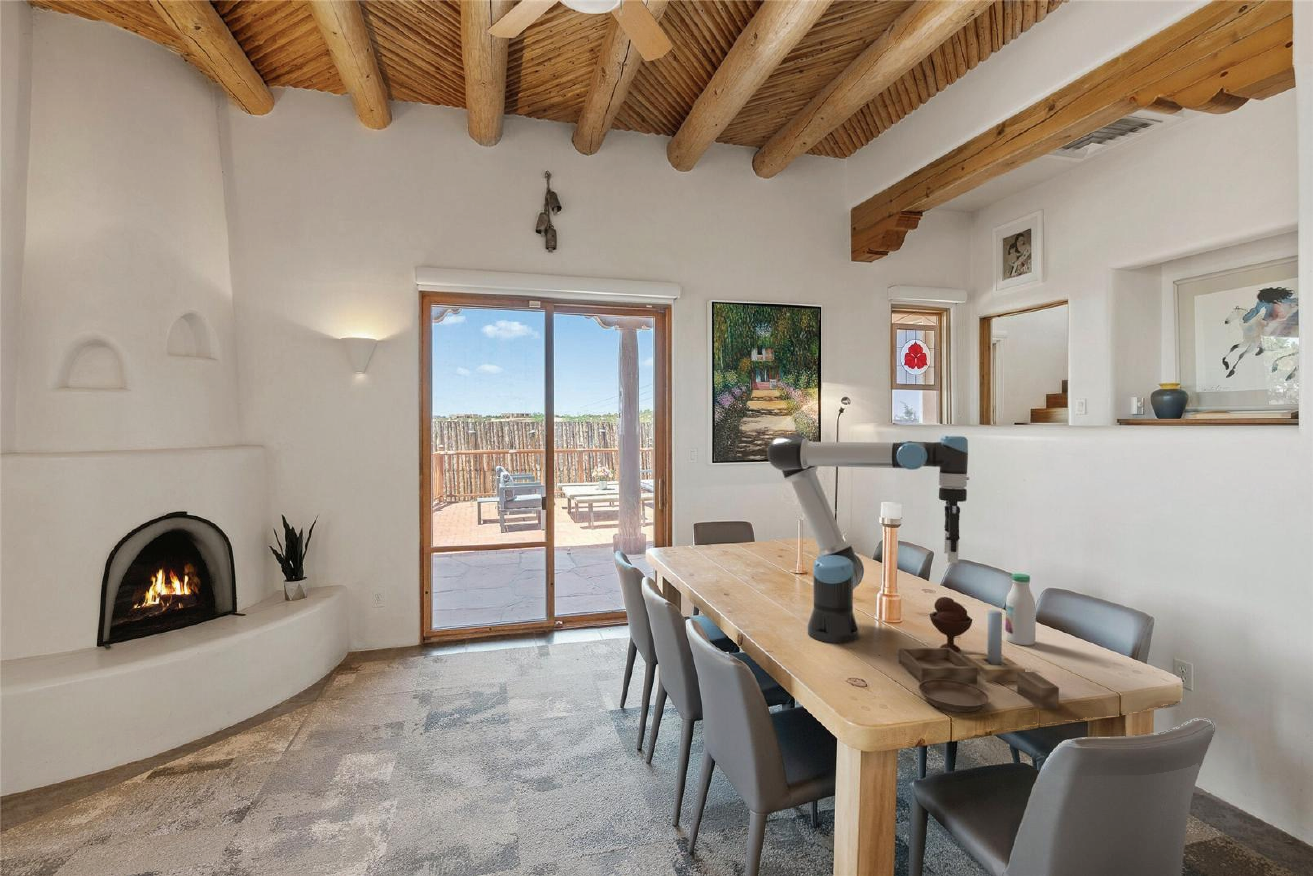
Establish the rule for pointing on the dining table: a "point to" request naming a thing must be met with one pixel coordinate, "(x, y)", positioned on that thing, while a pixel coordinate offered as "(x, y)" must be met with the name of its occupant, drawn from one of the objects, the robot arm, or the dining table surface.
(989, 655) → the dowel
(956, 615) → the ice cream bowl
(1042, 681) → the block
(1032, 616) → the milk bottle
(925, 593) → the dining table surface
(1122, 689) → the dining table surface
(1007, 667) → the socket block
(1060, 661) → the dining table surface
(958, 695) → the saucer
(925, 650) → the tray
